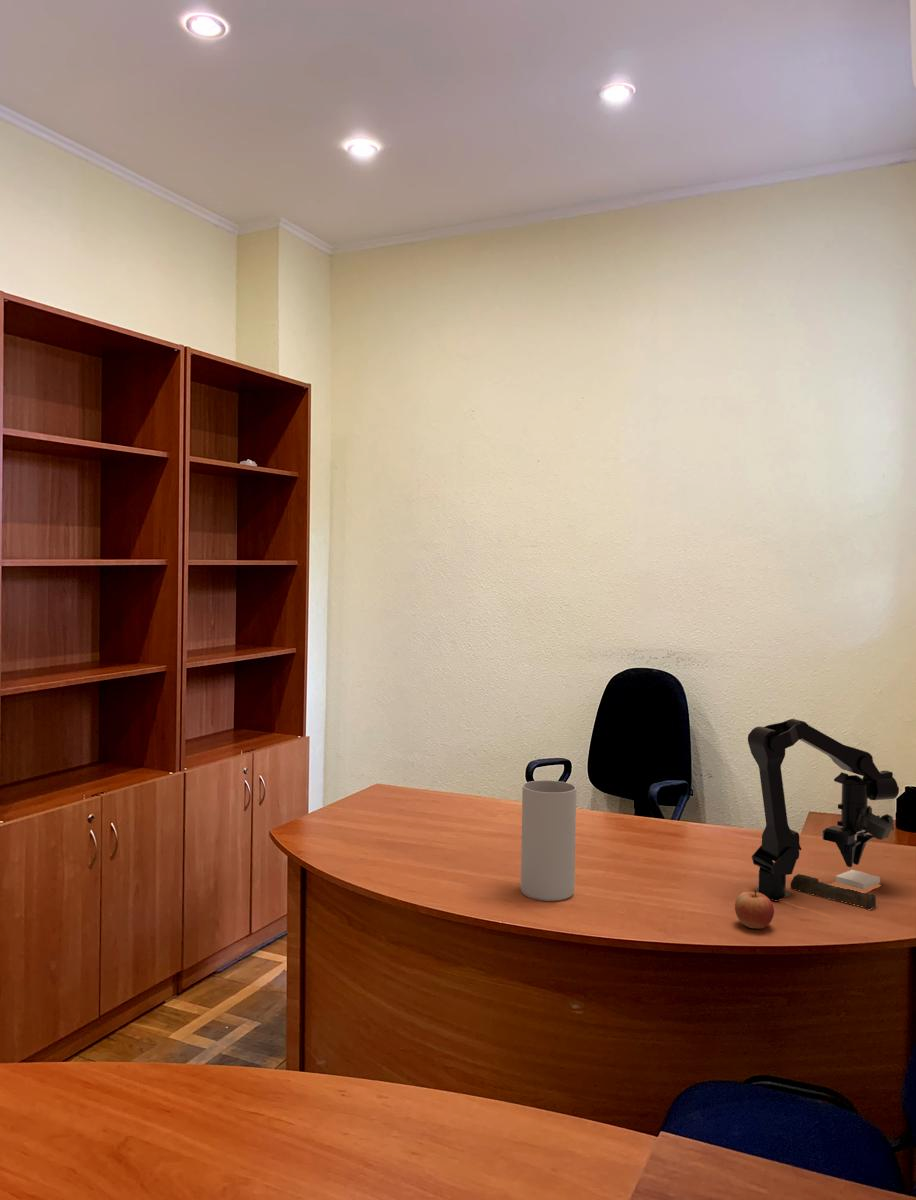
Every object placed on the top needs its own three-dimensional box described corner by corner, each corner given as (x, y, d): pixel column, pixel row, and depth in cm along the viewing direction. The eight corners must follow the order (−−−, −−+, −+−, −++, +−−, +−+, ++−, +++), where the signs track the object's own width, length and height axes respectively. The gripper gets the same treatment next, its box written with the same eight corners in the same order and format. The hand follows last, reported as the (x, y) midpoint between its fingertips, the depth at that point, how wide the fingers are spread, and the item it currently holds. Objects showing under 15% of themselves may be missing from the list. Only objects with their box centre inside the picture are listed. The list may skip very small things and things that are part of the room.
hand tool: (877, 910, 205) (877, 890, 204) (870, 914, 202) (871, 894, 202) (795, 889, 218) (796, 870, 218) (788, 893, 215) (789, 873, 215)
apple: (746, 916, 199) (747, 880, 199) (780, 927, 193) (781, 890, 193) (726, 925, 193) (727, 888, 193) (760, 936, 188) (761, 898, 187)
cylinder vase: (585, 894, 211) (587, 787, 210) (548, 906, 203) (550, 795, 202) (546, 880, 220) (548, 778, 220) (509, 891, 212) (511, 785, 211)
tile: (863, 883, 214) (880, 877, 219) (835, 875, 220) (852, 869, 225) (863, 891, 214) (879, 884, 219) (835, 883, 220) (851, 876, 225)
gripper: (868, 814, 205) (866, 882, 205) (906, 802, 217) (904, 866, 217) (822, 804, 214) (820, 869, 214) (861, 793, 225) (859, 855, 226)
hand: (852, 865), depth 218 cm, fingers open, 3 cm apart
